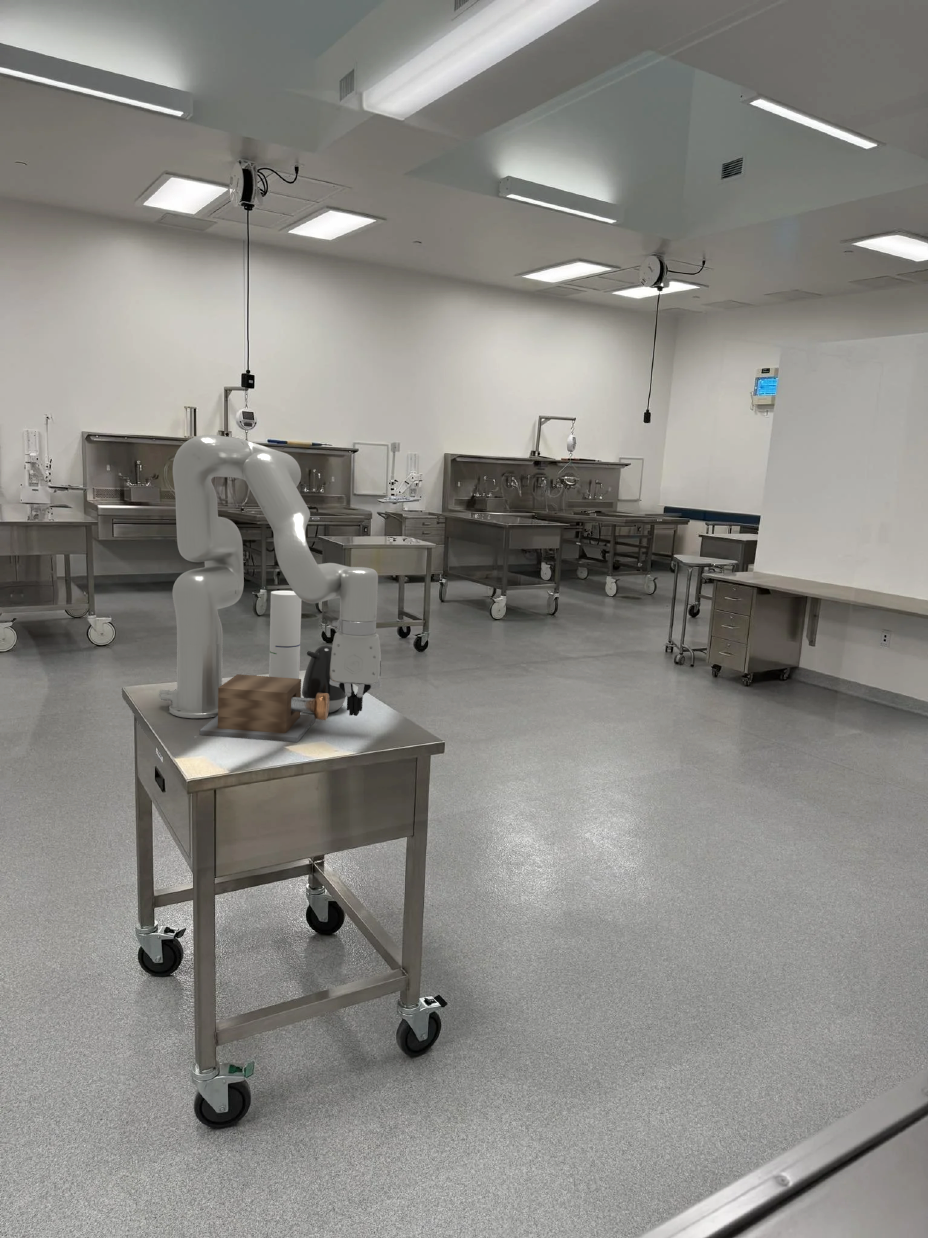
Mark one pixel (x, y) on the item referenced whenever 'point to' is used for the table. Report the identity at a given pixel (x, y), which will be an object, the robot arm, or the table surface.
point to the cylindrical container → (285, 634)
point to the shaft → (312, 705)
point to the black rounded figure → (321, 678)
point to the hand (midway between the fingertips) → (354, 713)
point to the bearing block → (259, 709)
